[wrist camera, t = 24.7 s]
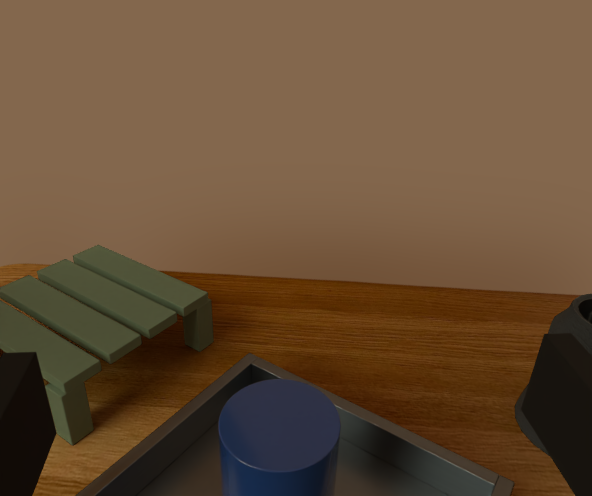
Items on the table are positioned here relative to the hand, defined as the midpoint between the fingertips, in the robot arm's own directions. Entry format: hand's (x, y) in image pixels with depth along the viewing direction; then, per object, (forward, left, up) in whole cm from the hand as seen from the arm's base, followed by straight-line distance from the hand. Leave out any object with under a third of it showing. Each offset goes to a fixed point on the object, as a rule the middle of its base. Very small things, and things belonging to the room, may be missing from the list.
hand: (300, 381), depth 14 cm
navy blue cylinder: (-6, +7, -22) cm, 24 cm away
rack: (-32, +13, -23) cm, 42 cm away
